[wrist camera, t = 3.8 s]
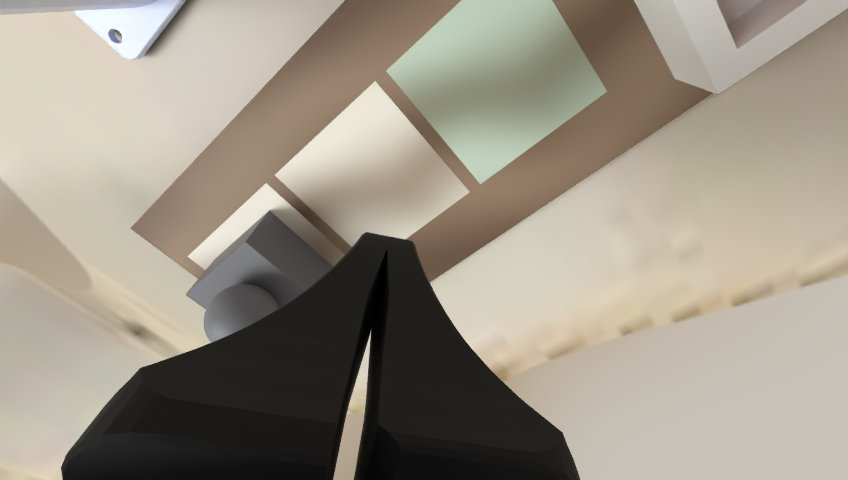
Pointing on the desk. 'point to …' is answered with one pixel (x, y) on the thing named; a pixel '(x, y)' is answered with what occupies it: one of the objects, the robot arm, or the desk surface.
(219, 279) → the pawn
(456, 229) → the game board
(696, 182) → the desk surface
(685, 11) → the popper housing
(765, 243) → the desk surface
